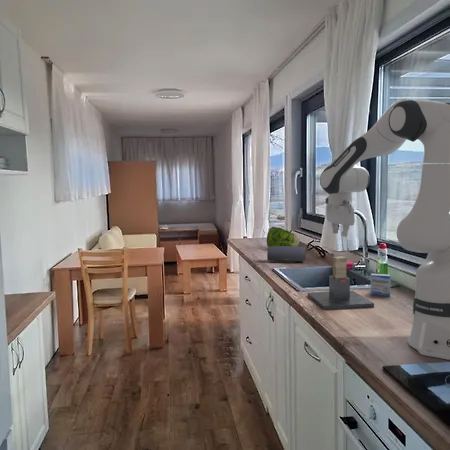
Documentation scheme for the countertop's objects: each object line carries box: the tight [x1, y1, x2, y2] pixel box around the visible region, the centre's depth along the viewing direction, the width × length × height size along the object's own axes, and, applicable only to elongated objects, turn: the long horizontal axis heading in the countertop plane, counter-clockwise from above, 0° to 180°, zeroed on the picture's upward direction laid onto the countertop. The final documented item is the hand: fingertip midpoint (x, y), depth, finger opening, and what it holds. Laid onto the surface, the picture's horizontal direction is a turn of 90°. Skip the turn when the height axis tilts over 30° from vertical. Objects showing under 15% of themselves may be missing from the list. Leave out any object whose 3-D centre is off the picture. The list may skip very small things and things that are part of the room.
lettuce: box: [266, 226, 300, 248], centre depth 308 cm, size 17×23×16 cm
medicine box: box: [370, 273, 392, 297], centre depth 183 cm, size 8×4×9 cm, turn 70°
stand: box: [307, 275, 375, 311], centre depth 173 cm, size 20×20×10 cm
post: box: [332, 256, 347, 279], centre depth 172 cm, size 4×4×16 cm
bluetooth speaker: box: [266, 245, 307, 264], centre depth 260 cm, size 23×9×10 cm, turn 80°
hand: (339, 234), depth 171 cm, fingers open, 8 cm apart
